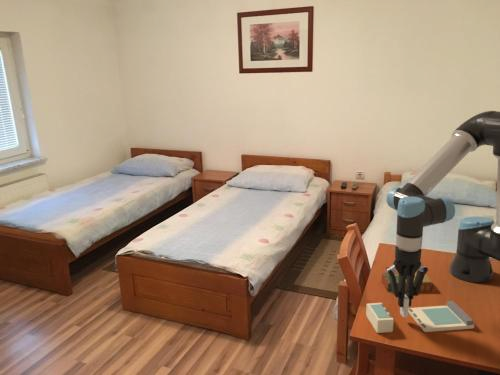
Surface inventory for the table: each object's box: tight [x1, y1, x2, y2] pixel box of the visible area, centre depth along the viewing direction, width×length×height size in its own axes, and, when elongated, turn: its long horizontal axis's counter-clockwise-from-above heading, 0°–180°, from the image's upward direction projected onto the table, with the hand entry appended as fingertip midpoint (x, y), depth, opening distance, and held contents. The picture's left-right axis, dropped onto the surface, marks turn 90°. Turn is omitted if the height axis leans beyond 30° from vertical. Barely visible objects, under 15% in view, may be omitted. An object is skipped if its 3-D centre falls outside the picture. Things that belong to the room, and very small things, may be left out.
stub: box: [365, 302, 394, 334], centre depth 137 cm, size 5×10×4 cm, turn 5°
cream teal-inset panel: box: [408, 300, 475, 333], centre depth 139 cm, size 16×12×3 cm
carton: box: [381, 272, 433, 293], centre depth 161 cm, size 8×16×4 cm, turn 89°
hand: (403, 314), depth 138 cm, fingers closed
